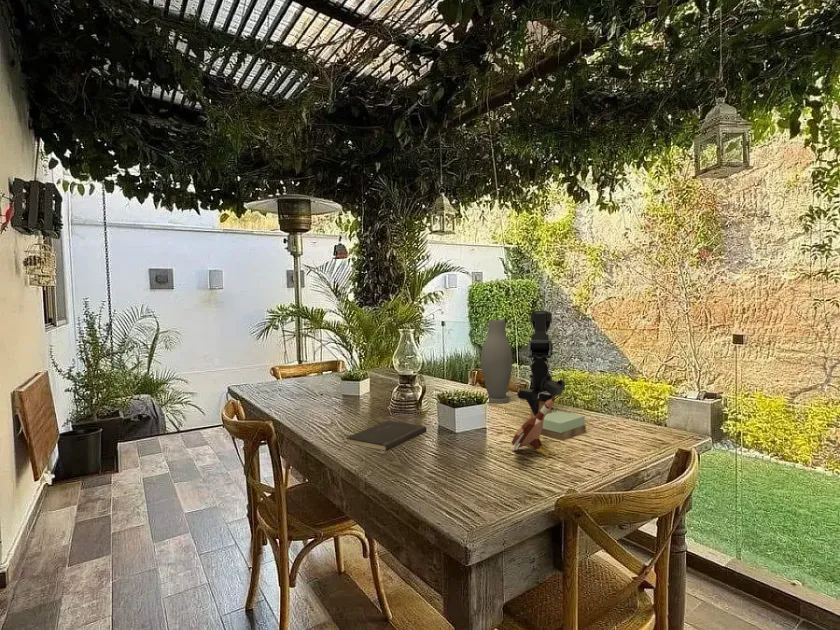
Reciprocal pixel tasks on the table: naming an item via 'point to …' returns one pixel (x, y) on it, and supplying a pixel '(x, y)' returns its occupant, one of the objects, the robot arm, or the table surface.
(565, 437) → the walnut slab
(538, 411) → the terracotta block
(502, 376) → the vase
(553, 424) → the sage slab
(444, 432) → the table surface
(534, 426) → the decorative bird
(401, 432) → the hardcover book
